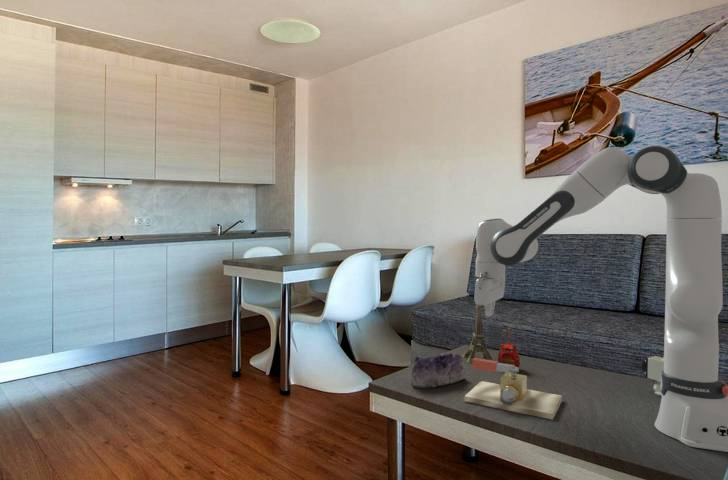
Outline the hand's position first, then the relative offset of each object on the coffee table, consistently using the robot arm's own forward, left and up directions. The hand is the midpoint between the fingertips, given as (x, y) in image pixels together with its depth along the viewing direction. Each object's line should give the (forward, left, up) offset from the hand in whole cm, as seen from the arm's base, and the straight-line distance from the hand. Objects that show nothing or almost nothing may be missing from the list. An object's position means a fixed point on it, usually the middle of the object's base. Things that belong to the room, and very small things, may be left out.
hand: (489, 315), depth 144 cm
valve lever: (-4, +6, -16) cm, 17 cm away
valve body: (-9, +6, -23) cm, 25 cm away
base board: (-9, +6, -23) cm, 25 cm away
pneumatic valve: (-47, -24, -23) cm, 58 cm away
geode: (+16, +2, -24) cm, 29 cm away
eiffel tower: (+13, -31, -23) cm, 41 cm away
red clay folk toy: (0, -25, -23) cm, 35 cm away
